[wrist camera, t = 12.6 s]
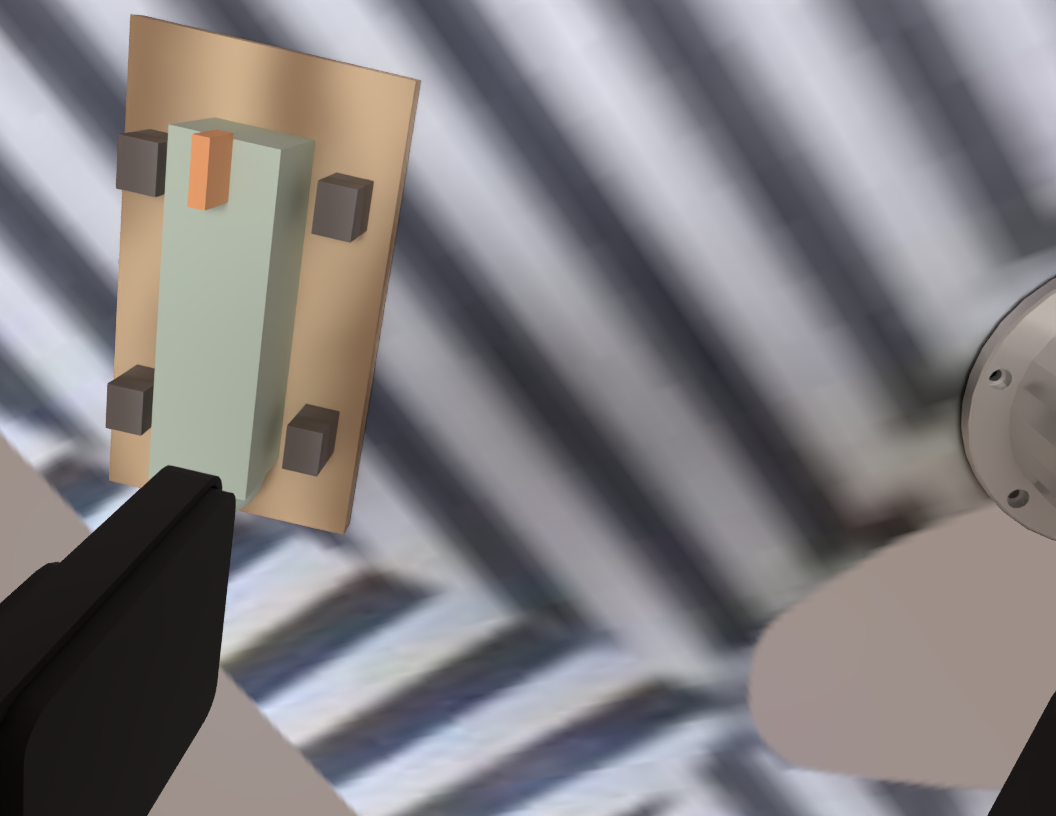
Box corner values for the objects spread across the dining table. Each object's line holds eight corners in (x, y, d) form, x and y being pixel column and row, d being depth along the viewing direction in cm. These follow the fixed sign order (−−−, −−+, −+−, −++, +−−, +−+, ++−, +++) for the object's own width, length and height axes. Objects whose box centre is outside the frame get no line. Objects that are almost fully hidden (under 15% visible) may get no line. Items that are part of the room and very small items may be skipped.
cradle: (420, 80, 35) (401, 82, 32) (349, 524, 42) (327, 563, 39) (143, 15, 35) (95, 11, 32) (119, 471, 42) (79, 505, 39)
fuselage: (316, 134, 35) (260, 149, 29) (274, 498, 41) (221, 567, 35) (215, 111, 35) (141, 122, 29) (187, 479, 41) (122, 545, 35)
